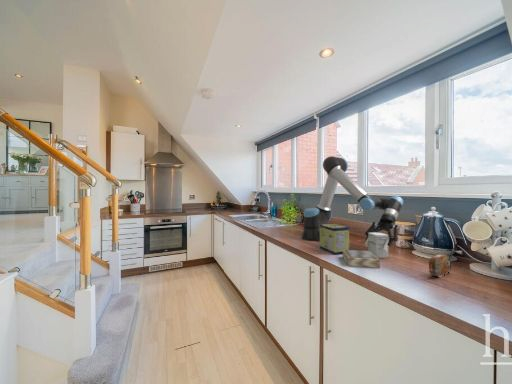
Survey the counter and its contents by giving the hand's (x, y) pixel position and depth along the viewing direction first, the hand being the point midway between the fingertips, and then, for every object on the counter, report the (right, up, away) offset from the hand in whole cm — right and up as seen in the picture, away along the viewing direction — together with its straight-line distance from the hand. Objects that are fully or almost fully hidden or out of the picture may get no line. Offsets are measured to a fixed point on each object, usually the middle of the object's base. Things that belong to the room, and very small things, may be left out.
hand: (375, 247), depth 115 cm
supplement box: (+3, -5, +2) cm, 6 cm away
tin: (+14, -5, -24) cm, 29 cm away
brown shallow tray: (-13, -5, -8) cm, 16 cm away
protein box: (-18, -5, +12) cm, 23 cm away
